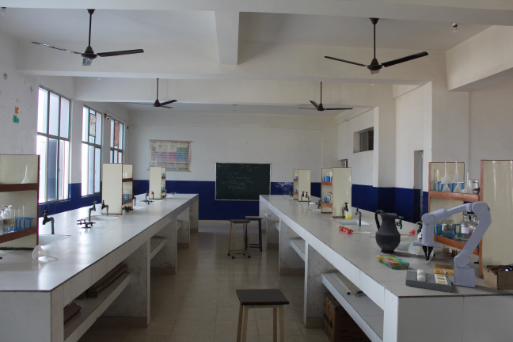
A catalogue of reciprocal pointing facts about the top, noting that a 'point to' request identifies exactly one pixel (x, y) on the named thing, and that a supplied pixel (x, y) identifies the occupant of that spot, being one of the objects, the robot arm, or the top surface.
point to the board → (429, 281)
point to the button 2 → (421, 278)
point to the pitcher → (387, 232)
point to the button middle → (421, 272)
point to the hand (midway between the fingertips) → (427, 260)
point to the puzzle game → (393, 261)
